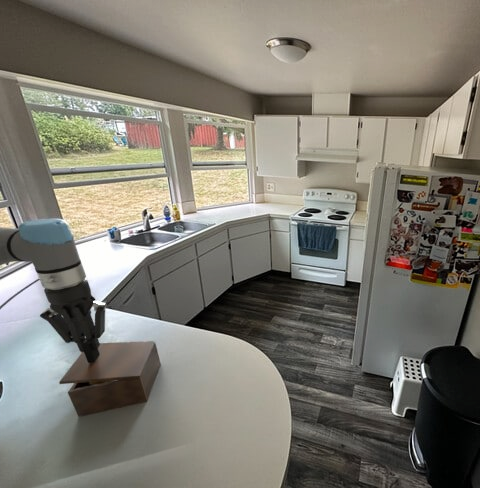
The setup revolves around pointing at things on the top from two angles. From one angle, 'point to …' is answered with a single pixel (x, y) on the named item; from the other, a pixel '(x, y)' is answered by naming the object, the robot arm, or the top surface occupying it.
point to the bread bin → (115, 390)
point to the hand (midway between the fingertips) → (94, 358)
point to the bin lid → (111, 363)
